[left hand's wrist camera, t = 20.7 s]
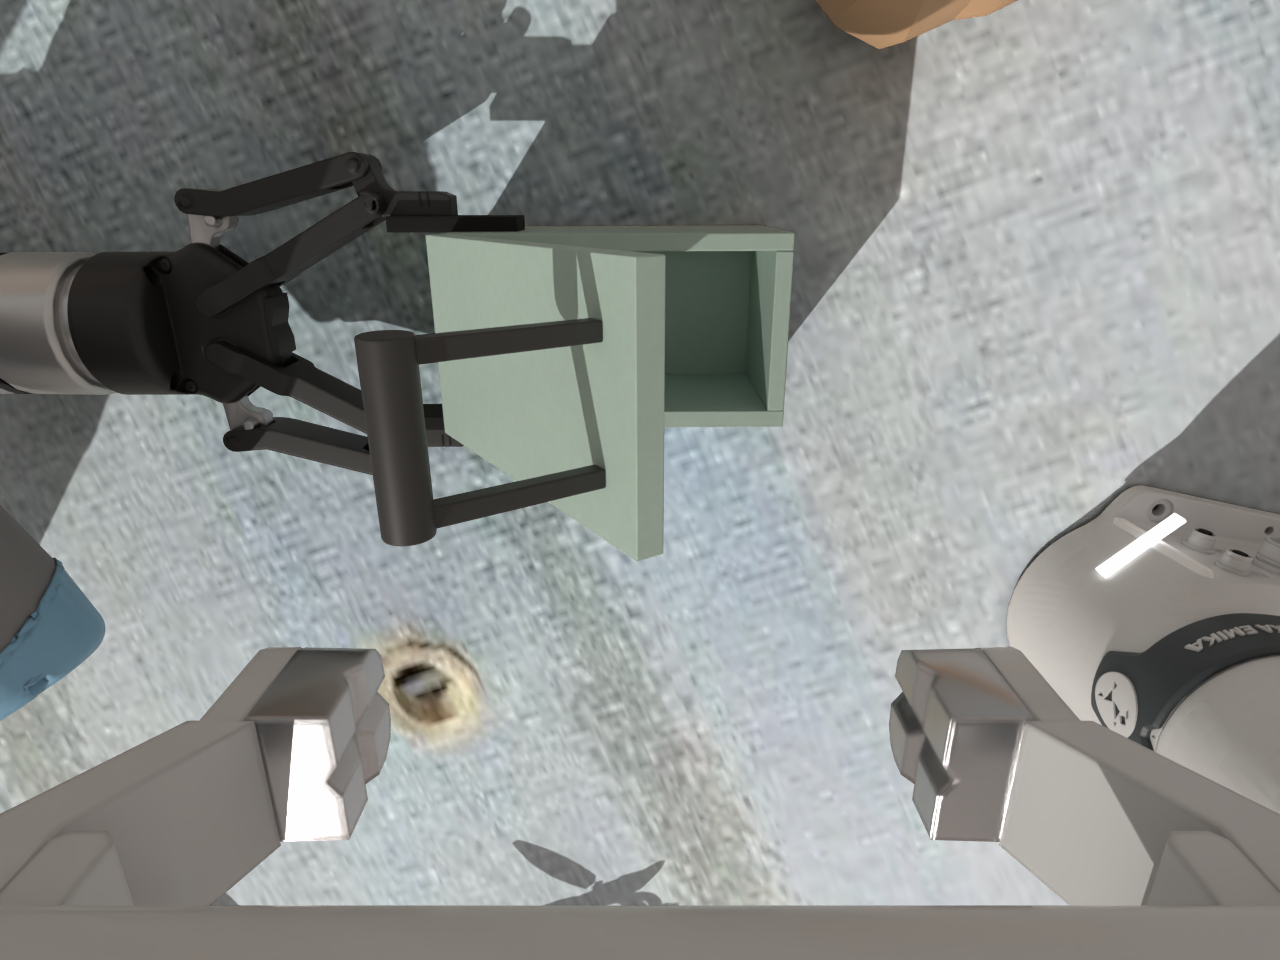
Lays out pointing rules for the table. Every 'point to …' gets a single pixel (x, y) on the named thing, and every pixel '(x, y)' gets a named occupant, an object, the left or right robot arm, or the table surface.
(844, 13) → the squash
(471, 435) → the lid
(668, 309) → the chest
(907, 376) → the table surface
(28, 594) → the right robot arm
